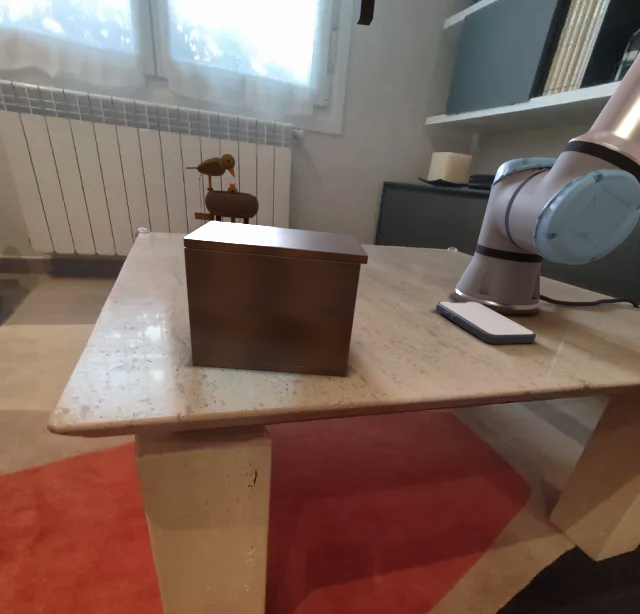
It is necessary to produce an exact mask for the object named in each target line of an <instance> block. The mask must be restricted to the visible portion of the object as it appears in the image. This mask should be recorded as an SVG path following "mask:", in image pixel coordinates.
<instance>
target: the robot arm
mask: <svg viewBox="0 0 640 614" xmlns="http://www.w3.org/2000/svg"><path fill="white" fill-rule="evenodd" d="M375 4H376V0H358V6H357V16H356V17H357V18H356V25H360V26H369V27H370V26H371V24H372V22H373V20H374V13H375V6H376V5H375ZM485 208H486V209H485V213H484V215H483V216H484V217H483V220H482V223H481V227H480V231H479V236H478V240H477V244H476V246H475V251H474V253H473V254H474V255H473V256H472V259H471V260H470V262H469V264H468V266H467V267H466V269H465V270H464V272H463V274H462V276H461V277H460V279H459V280H458V282H457V284H456V286H455V289H454V292H453V299H454V300H455V301H456V302H477V303H480V304H482V305H484V306H486V307H487V308H489V309H491V310H493V311H495V312H497V313H499V314H501V315H507V316H508V315H510V316H528V315H533V314H535V313H536V312H537V309H538V307H539V304H540V300H541V301H543V302H546V303H548V304H552V305H557V306H566V307H595V306H599V305H602V304H616V303H629V304H631V305H632V306H633V308H636V309H639V308H640V305H639V303H638V301H637V300H635V299H634V298H630V297H616V298H604V299H603V298H602V299H597V300H595V301H567V300H560V299H555V298H551V297H548V296H546V295H543V294H540V293H541V267H542V263H543V261H544V259H545V260H547V261H548V262H552V263H557V264H564V265H569V266H570V265H571V266H572V265H573V266H577V265H578V266H579V265H585V264H589V263H592V262H595V261H598V260H600V259H602V258H604V257H606V256H607V255H609V254H610V253H612V252H613V251H614V250H615V249H617V248H619V246H621V244H622V243H623V242H624V241H625V240H626V239H627V238H628V237H629V236H630V234H631V233H632V232H633V230H634V228H635V227H636V225H637V223H638V221H639V219H640V52H639V53H638V55H637V56H636V57H635V59H634V61H633V62H632V63H631V65H630V67H629V68H628V70H627V72H626V73H625V75H624V76H623V77H622V79H621V81H620V82H619V84H618V85H617V87H616V88H615V90H614V92H613V93H612V95H611V96H610V98H609V100H608V101H607V103H605V105H604V107H603V109H602V110H601V112H600V113H599V115H598V116H597V118H596V119H595V121H594V122H593V124H592V125H591V127H590V128H589V130H588V131H587V132H585V133H584V134H581V135H578V136H576V137H573V138H571V139H569V141H568V142H567V143H566V145H565V146H564V148H563V150H562V151H561V153H560V154H559V156H558V158H556V157H542V156H541V157H540V156H539V157H520V158H513V159H509V160H507V161H505V162H503V163H502V164H501V165H500V166H499V167H498V169H497V171H496V174H495V177H494V180H493V182H492V184H491V186H490V194H489V197H488V201H487V205H486V207H485Z"/></svg>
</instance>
